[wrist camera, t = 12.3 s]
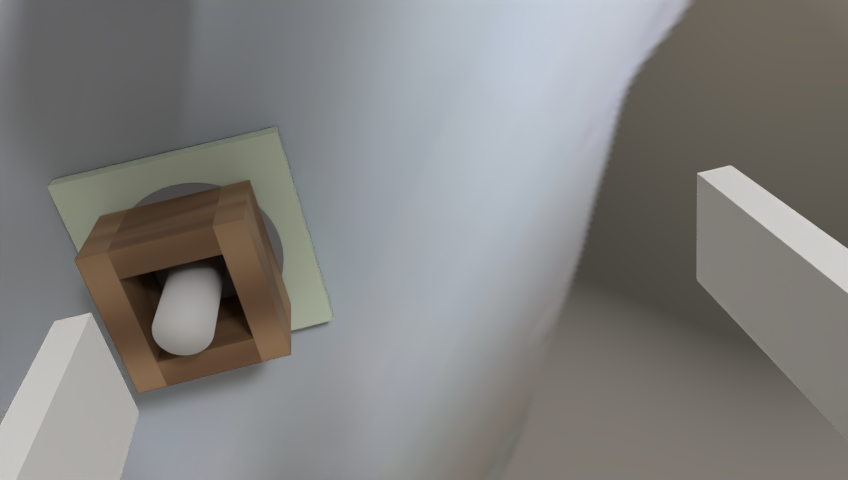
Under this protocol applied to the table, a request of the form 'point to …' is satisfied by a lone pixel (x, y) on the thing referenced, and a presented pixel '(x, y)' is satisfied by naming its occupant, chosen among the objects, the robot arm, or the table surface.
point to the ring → (177, 244)
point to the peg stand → (210, 278)
